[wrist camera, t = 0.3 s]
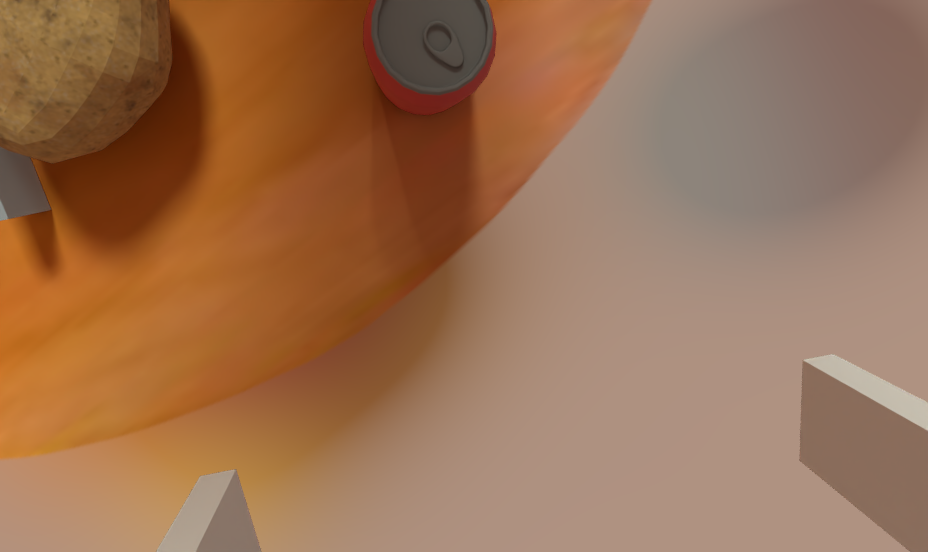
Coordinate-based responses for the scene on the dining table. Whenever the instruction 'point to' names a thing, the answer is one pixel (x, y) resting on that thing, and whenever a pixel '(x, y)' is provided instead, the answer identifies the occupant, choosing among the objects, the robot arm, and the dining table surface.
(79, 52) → the potato
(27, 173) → the u-shaped frame
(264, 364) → the dining table surface
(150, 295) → the dining table surface
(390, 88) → the beer can
